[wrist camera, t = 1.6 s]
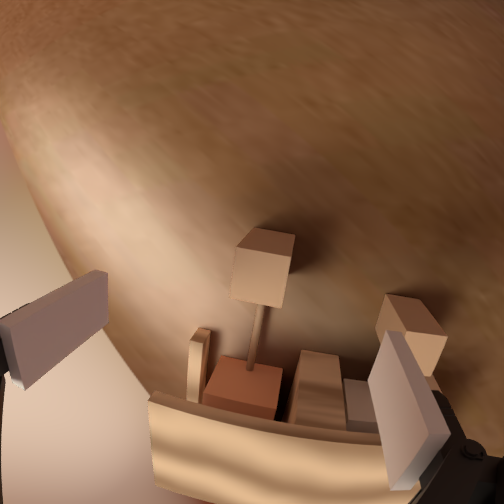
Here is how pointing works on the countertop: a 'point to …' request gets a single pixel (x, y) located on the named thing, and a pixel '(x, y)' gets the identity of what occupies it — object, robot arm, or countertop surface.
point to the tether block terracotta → (262, 293)
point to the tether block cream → (418, 339)
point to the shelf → (269, 443)
